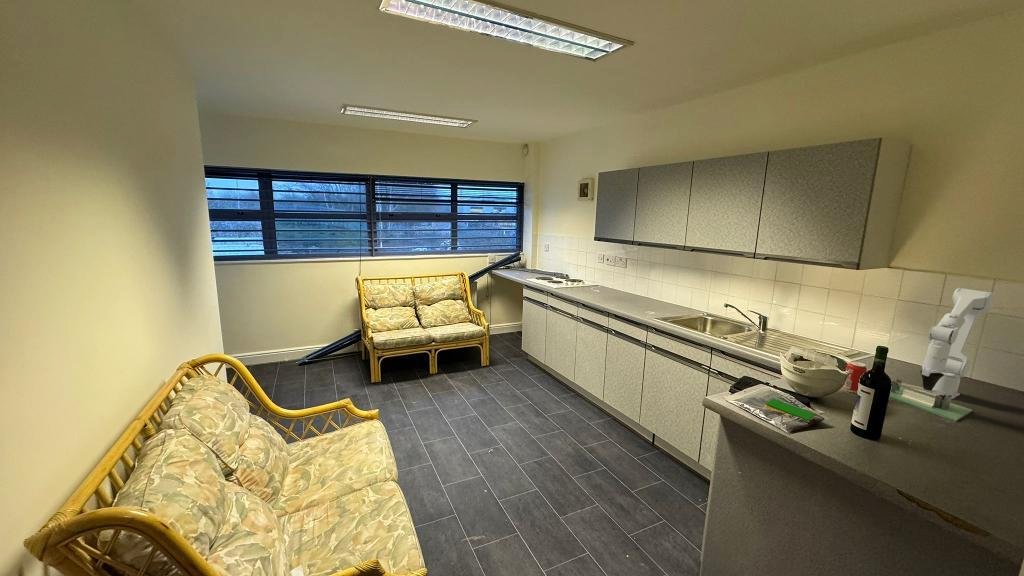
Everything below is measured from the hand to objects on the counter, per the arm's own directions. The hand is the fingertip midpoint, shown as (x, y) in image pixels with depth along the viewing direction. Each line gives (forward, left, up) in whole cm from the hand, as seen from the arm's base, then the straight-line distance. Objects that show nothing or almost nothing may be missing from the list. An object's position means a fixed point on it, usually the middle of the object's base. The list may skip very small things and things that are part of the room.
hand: (927, 389), depth 155 cm
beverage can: (+14, -18, -6) cm, 24 cm away
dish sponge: (+58, -19, -7) cm, 61 cm away
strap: (0, -2, -1) cm, 3 cm away
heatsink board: (0, -1, -6) cm, 6 cm away
